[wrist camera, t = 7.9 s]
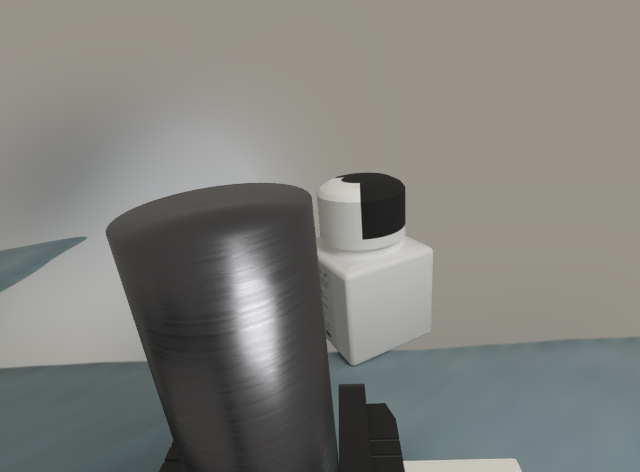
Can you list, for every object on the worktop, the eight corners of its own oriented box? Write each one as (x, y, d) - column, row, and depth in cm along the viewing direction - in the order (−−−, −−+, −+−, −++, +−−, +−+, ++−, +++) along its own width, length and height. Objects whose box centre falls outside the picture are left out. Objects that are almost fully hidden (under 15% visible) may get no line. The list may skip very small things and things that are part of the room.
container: (378, 293, 37) (373, 162, 32) (432, 333, 30) (437, 177, 26) (308, 318, 34) (291, 179, 29) (351, 369, 27) (339, 200, 23)
